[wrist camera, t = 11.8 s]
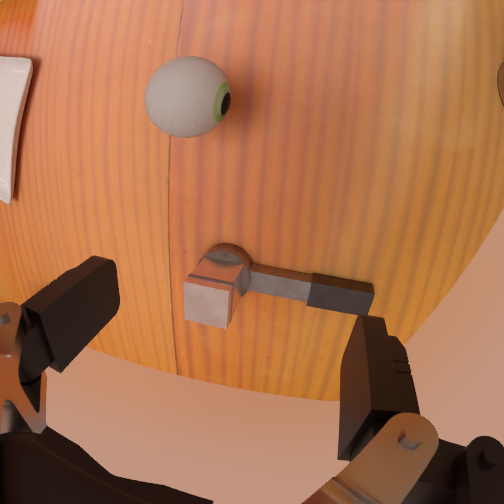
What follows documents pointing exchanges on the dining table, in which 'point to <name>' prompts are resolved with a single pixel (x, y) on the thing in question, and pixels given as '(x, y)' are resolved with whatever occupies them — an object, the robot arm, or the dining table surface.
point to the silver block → (213, 292)
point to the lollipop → (187, 96)
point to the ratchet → (298, 283)
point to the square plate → (11, 117)
